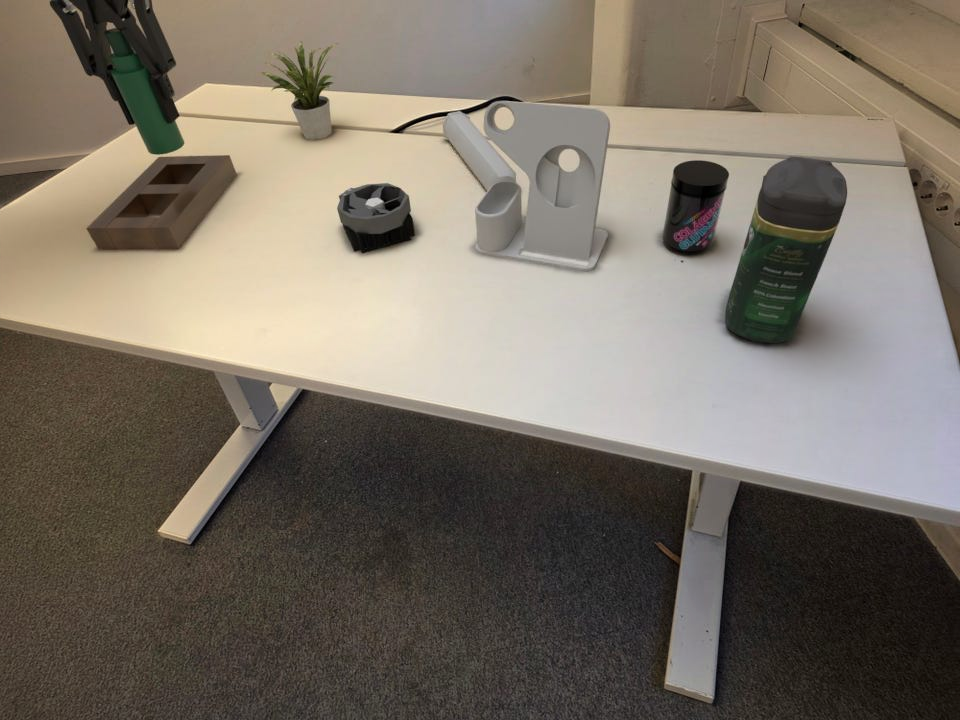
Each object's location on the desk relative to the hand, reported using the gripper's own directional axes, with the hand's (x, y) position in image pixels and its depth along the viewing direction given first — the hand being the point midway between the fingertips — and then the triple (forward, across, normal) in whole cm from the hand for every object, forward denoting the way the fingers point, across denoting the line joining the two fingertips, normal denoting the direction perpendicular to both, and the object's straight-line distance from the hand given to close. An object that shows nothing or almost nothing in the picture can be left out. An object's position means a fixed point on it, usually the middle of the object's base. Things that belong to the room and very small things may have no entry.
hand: (154, 120), depth 94 cm
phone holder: (+14, -60, +15) cm, 63 cm away
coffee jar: (+14, -86, +31) cm, 92 cm away
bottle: (+4, 0, 0) cm, 4 cm away
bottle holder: (+13, 0, +5) cm, 14 cm away
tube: (+14, -49, -8) cm, 52 cm away
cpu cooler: (+13, -36, +12) cm, 40 cm away
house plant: (+13, -17, -24) cm, 32 cm away
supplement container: (+14, -80, +15) cm, 82 cm away
